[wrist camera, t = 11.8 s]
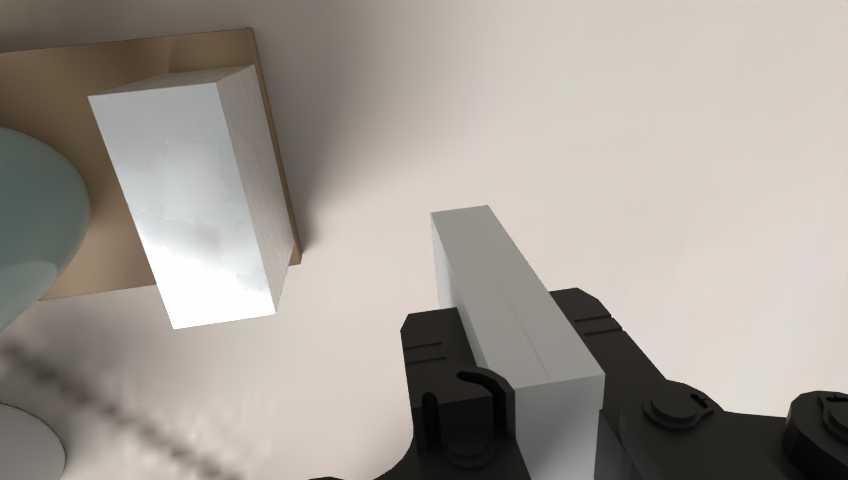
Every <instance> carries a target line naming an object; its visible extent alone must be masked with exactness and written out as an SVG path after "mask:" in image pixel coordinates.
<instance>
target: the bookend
mask: <svg viewBox="0 0 848 480" xmlns="http://www.w3.org/2000/svg"><path fill="white" fill-rule="evenodd" d="M87 97H88V99H89V102H90V105H91V107H92V110H93V113H94V116H95V118H96V121H97V124H98V126H99V129H100V132H101V134H102V137H103V140H104V142H105V145H106V148H107V150H108V153H109V156H110V158H111V161H112V164H113V166H114V169H115V172H116V175H117V177H118V180H119V183H120V185H121V188H122V191H123V193H124V196H125V199H126V201H127V204H128V207H129V209H130V212H131V215H132V217H133V220H134V223H135V226H136V228H137V231H138V234H139V236H140V239H141V242H142V244H143V247H144V250H145V252H146V255H147V258H148V260H149V263H150V266H151V268H152V271H153V274H154V276H155V279H156V282H157V285H158V287H159V290H160V293H161V295H162V298H163V301H164V303H165V306H166V309H167V311H168V314H169V317H170V319H171V322H172V325H173V327H174V329H177V328H183V327H190V326H197V325H204V324H210V323H217V322H224V321H231V320H238V319H244V318H251V317H258V316H265V315H271V314H276V312H277V308H278V304H279V300H280V296H281V292H282V288H283V285H284V281H285V277H286V273H287V269H288V265H289V261H290V257H291V254H292V250H293V246H294V238H293V233H292V229H291V224H290V220H289V215H288V211H287V206H286V202H285V198H284V193H283V189H282V184H281V180H280V175H279V171H278V166H277V162H276V158H275V153H274V149H273V144H272V140H271V135H270V131H269V127H268V122H267V118H266V113H265V109H264V104H263V100H262V95H261V91H260V87H259V82H258V78H257V73H256V69H255V64H251V65H241V66H232V67H223V68H213V69H204V70H194V71H185V72H175V73H166V74H161V75H158V76H154V77H151V78H148V79H144V80H141V81H138V82H134V83H131V84H128V85H124V86H121V87H118V88H114V89H111V90H107V91H104V92H101V93H97V94H94V95H91V96H87Z"/></svg>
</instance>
